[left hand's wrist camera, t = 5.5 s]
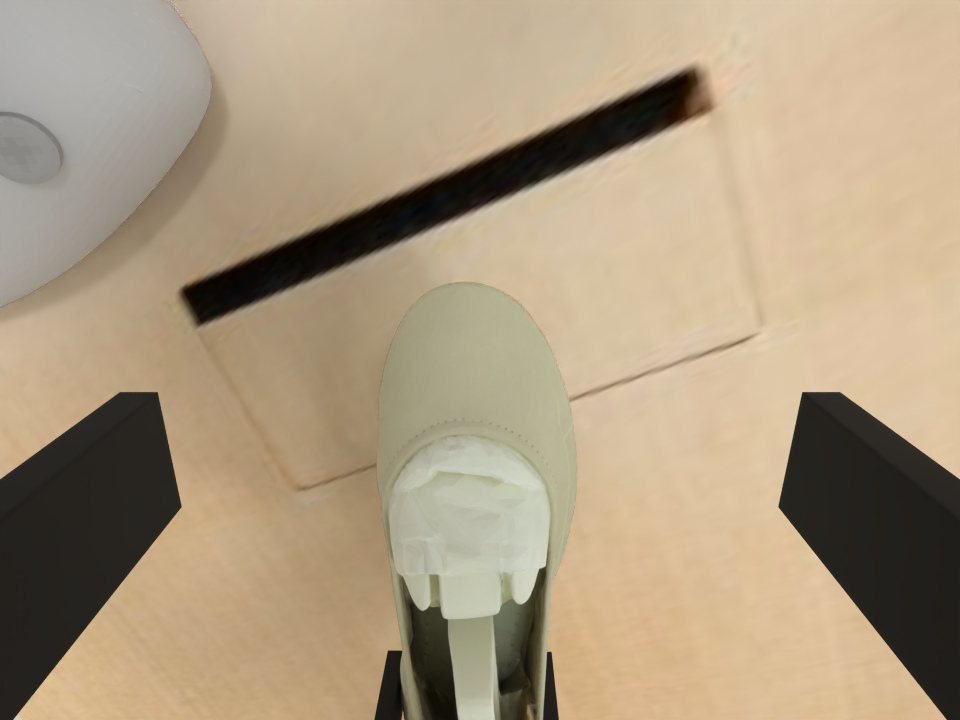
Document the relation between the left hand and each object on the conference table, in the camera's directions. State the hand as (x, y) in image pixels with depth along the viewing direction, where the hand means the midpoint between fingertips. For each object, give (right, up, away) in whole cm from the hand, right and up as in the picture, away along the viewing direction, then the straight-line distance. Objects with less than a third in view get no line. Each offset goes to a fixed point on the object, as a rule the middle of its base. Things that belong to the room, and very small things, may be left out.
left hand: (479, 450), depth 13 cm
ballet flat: (0, -6, +16) cm, 17 cm away
